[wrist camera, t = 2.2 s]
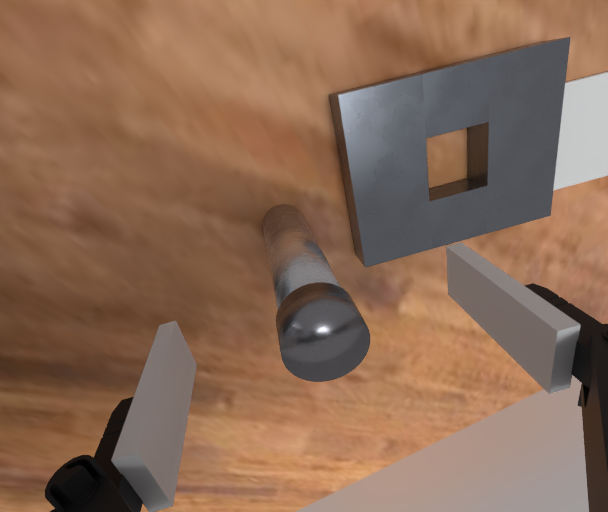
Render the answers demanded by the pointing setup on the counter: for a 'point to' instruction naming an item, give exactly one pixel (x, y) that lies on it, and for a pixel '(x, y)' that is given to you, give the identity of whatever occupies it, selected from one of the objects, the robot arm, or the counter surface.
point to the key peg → (310, 302)
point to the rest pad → (583, 131)
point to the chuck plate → (481, 149)
